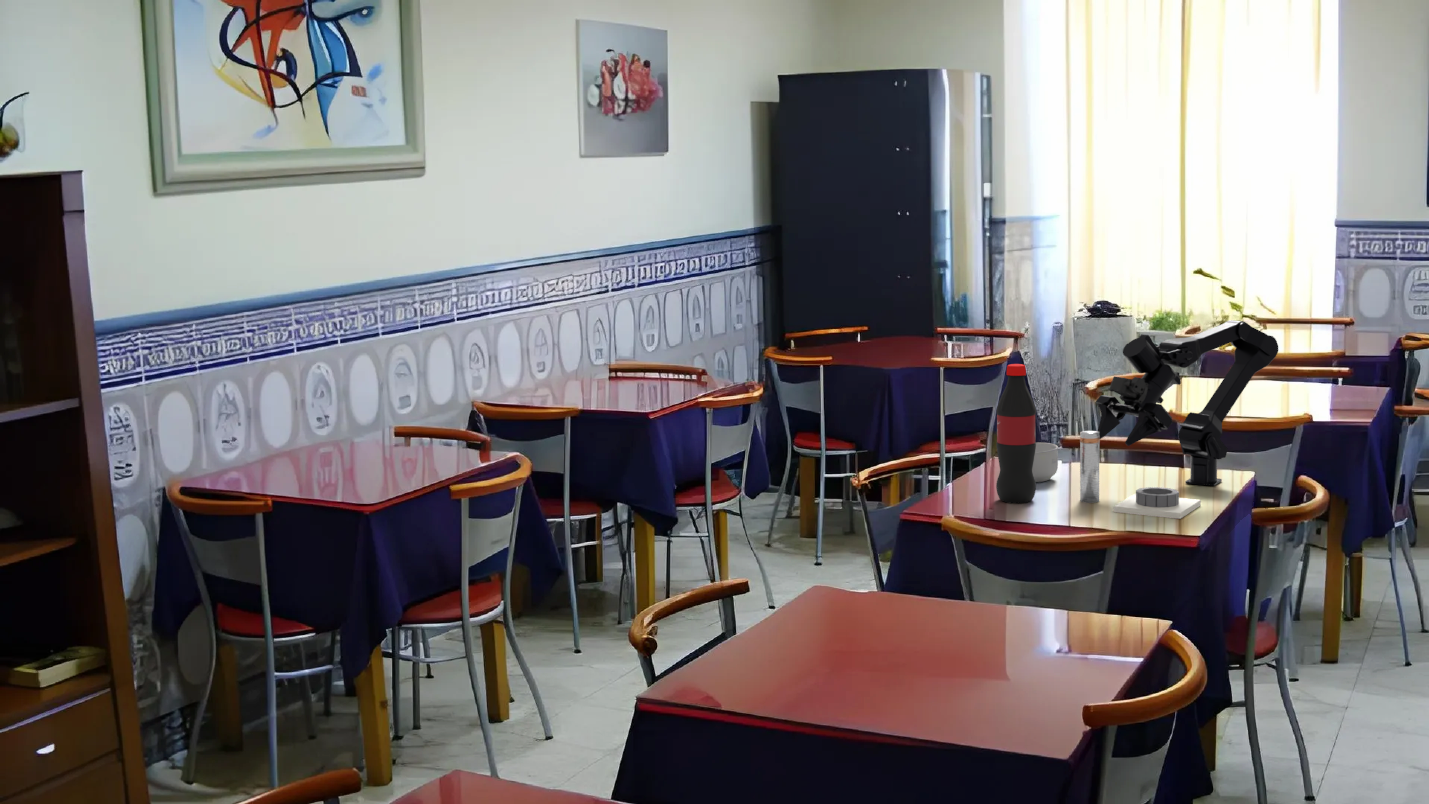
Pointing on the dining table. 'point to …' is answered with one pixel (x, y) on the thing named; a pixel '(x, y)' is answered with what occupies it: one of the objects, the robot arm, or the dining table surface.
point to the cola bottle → (1016, 439)
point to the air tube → (1089, 466)
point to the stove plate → (1157, 511)
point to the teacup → (1045, 461)
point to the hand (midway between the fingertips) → (1111, 441)
